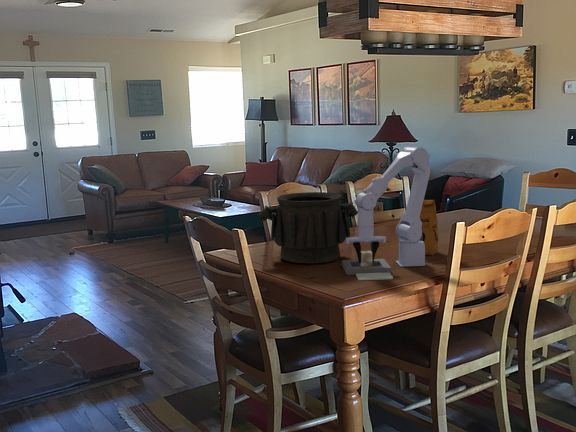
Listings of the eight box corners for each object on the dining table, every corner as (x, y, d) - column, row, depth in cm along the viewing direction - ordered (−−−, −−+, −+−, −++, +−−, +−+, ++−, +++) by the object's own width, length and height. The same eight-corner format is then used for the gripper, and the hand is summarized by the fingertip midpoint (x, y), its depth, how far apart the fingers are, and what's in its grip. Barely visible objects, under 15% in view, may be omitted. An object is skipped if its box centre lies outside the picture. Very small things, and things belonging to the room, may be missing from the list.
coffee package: (432, 257, 251) (433, 201, 247) (403, 253, 258) (403, 199, 254) (441, 252, 259) (442, 198, 255) (413, 248, 266) (413, 196, 262)
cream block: (370, 266, 237) (370, 250, 236) (372, 269, 233) (372, 253, 232) (359, 266, 237) (359, 251, 236) (361, 269, 233) (361, 253, 232)
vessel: (255, 258, 256) (252, 197, 252) (313, 246, 276) (312, 188, 272) (305, 272, 233) (303, 204, 229) (365, 257, 253) (365, 195, 249)
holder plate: (383, 263, 242) (383, 258, 242) (391, 273, 228) (391, 267, 228) (341, 265, 241) (341, 260, 241) (346, 274, 228) (346, 269, 227)
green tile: (389, 274, 227) (389, 272, 227) (393, 279, 220) (393, 277, 220) (355, 275, 227) (355, 273, 227) (358, 280, 220) (358, 278, 220)
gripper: (347, 228, 228) (347, 265, 230) (387, 226, 228) (387, 263, 231) (344, 224, 235) (345, 260, 237) (383, 223, 235) (383, 259, 238)
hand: (365, 262), depth 234 cm, fingers closed on cream block, 4 cm apart
